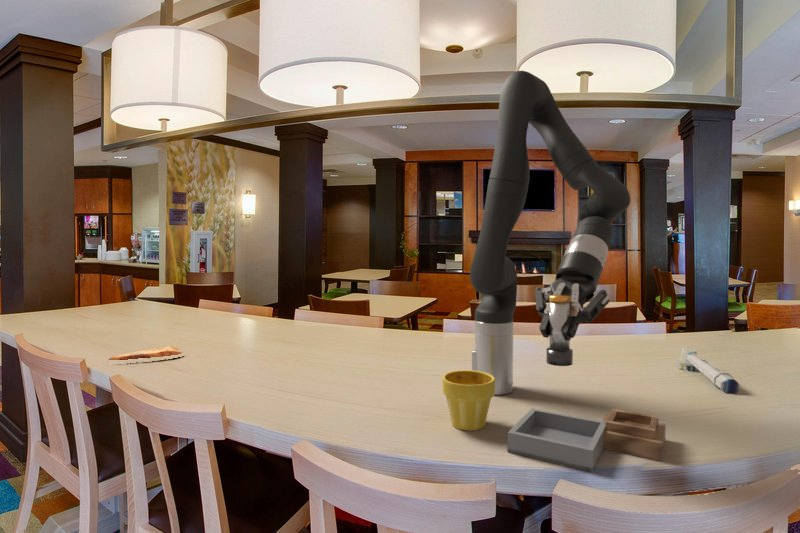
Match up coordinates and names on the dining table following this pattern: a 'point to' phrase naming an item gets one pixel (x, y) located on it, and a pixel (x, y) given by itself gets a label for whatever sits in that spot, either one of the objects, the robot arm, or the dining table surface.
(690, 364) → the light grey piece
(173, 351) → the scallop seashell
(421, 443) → the dining table surface
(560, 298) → the gold-capped glass canister
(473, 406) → the plant pot
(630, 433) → the brown square open box
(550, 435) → the tray
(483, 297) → the robot arm
